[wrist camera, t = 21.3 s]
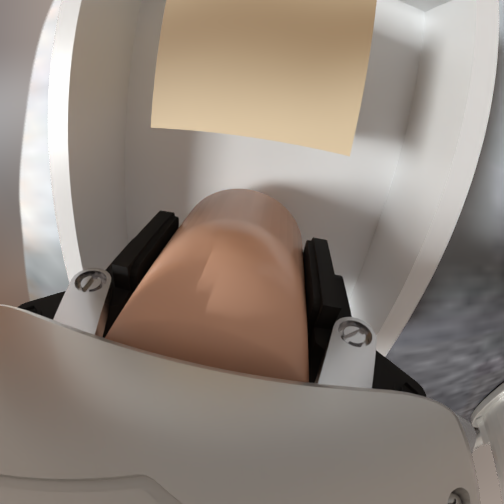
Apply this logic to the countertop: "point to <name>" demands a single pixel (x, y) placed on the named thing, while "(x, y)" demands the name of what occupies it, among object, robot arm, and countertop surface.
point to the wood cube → (264, 69)
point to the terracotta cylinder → (226, 291)
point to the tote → (280, 147)
